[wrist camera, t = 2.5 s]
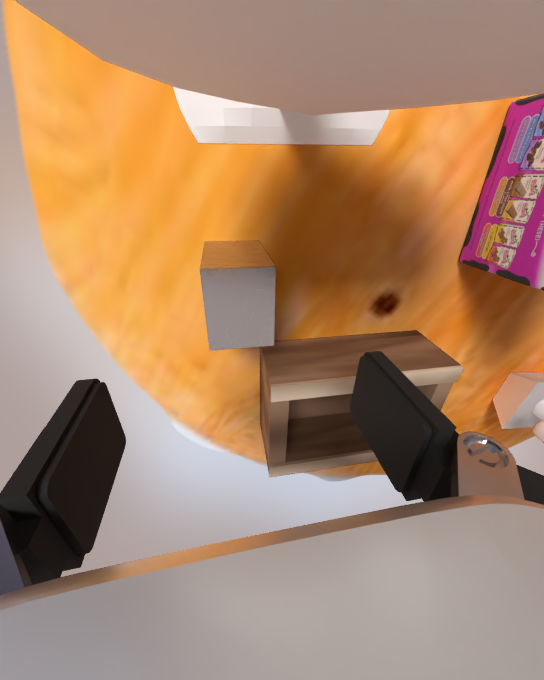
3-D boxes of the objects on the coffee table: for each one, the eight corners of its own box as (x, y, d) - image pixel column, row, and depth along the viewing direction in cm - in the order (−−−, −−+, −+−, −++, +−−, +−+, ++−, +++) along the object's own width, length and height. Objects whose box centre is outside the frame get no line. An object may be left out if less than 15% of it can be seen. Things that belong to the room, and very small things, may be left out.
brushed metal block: (204, 241, 20) (199, 269, 14) (258, 240, 21) (275, 267, 15) (211, 304, 23) (209, 350, 17) (259, 301, 23) (274, 345, 17)
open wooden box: (259, 342, 25) (271, 387, 20) (416, 330, 28) (464, 367, 22) (260, 425, 31) (269, 477, 26) (390, 409, 33) (423, 453, 28)
